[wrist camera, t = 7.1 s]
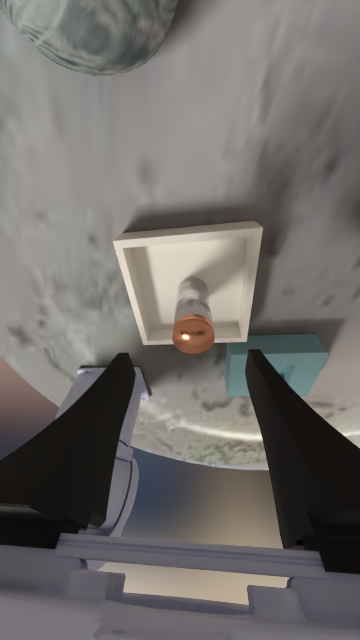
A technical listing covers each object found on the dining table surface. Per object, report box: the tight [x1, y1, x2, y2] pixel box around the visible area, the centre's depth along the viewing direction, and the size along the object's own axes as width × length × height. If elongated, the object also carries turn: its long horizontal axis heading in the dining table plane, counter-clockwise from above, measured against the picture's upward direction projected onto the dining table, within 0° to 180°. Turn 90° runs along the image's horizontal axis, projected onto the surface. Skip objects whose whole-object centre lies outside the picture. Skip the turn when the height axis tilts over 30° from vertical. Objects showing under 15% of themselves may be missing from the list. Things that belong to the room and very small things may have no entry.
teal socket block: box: [225, 333, 330, 396], centre depth 24 cm, size 10×8×3 cm
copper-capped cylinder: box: [172, 277, 215, 354], centre depth 17 cm, size 3×3×7 cm
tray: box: [113, 221, 263, 345], centre depth 19 cm, size 11×11×2 cm
